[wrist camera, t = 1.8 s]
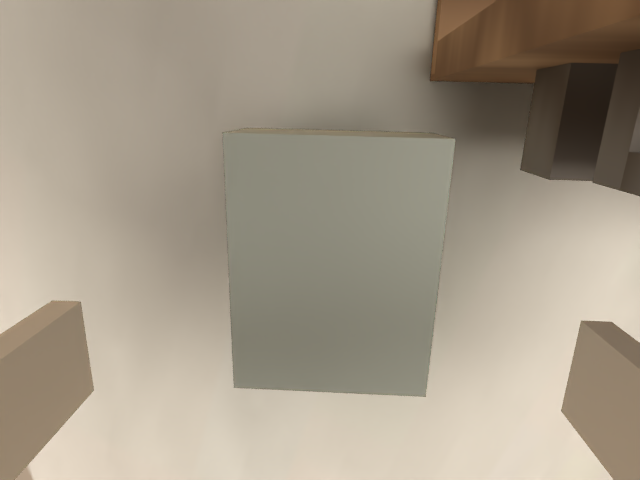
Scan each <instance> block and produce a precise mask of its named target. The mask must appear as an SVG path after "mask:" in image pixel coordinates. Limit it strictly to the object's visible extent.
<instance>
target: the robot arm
mask: <svg viewBox="0 0 640 480" xmlns="http://www.w3.org/2000/svg"><path fill="white" fill-rule="evenodd" d="M93 391H94V387H93V381H92V374H91V367H90V361H89V354H88V347H87V341H86V334H85V327H84V321H83V314H82V307H81V302H78V301H51V302H49V303H48V304H46V305H45V306H43V307H42V308H40V309H39V310H37V311H36V312H34V313H32V314H31V315H29V316H28V317H26V318H25V319H23V320H22V321H20V322H19V323H17V324H16V325H14V326H12V327H11V328H9V329H8V330H6V331H5V332H3V333H2V334H0V480H15V479H16V478H17V477H18V475H19V474H20V473H21V472H22V471H23V470H24V469H25V468H26V467H27V465H28V464H29V463H30V462H31V461H32V460H33V459H34V457H35V456H36V455H37V454H38V453H39V452H40V451H41V450H42V448H43V447H44V446H45V445H46V444H47V443H48V442H49V441H50V439H51V438H52V437H53V436H54V435H55V434H56V433H57V431H58V430H59V429H60V428H61V427H62V426H63V425H64V424H65V422H66V421H67V420H68V419H69V418H70V417H71V416H72V415H73V413H74V412H75V411H76V410H77V409H78V408H79V407H80V405H81V404H82V403H83V402H84V401H85V400H86V399H87V398H88V396H89V395H90V394H91V393H92V392H93ZM561 411H562V413H563V414H564V415H565V417H566V418H567V419H568V421H569V422H570V423H571V424H572V426H573V427H574V428H575V430H576V431H577V432H578V434H579V435H580V436H581V438H582V439H583V440H584V441H585V443H586V444H587V445H588V447H589V448H590V449H591V451H592V452H593V453H594V454H595V456H596V457H597V458H598V460H599V461H600V462H601V464H602V465H603V466H604V468H605V469H606V470H607V471H608V473H609V474H610V475H611V477H612V478H613V479H614V480H640V343H639V342H638V341H636V340H635V339H634V338H632V337H631V336H630V335H628V334H627V333H626V332H624V331H623V330H622V329H620V328H619V327H618V326H616V325H615V324H614V323H612V322H602V321H581V324H580V328H579V333H578V337H577V342H576V346H575V351H574V355H573V360H572V364H571V369H570V373H569V378H568V382H567V387H566V391H565V396H564V400H563V405H562V409H561Z"/></svg>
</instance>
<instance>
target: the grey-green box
mask: <svg viewBox="0 0 640 480" xmlns="http://www.w3.org/2000/svg"><path fill="white" fill-rule="evenodd" d="M455 141H456V139H454V138H450V137H446V136H442V135H438V134H434V133H421V132H383V131H346V130H308V129H270V128H244V129H239V130H234V131H229V132H224V133H223V154H224V177H225V200H226V222H227V245H228V267H229V290H230V312H231V335H232V357H233V380H234V388H251V389H272V390H293V391H314V392H335V393H356V394H377V395H398V396H419V397H426V389H427V380H428V372H429V363H430V355H431V346H432V337H433V329H434V320H435V312H436V303H437V295H438V286H439V277H440V269H441V260H442V252H443V243H444V235H445V226H446V218H447V209H448V200H449V192H450V183H451V175H452V166H453V158H454V149H455Z"/></svg>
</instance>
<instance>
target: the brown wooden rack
mask: <svg viewBox="0 0 640 480" xmlns="http://www.w3.org/2000/svg"><path fill="white" fill-rule="evenodd" d="M430 81H452V82H498V83H535V84H534V90H533V96H532V102H531V108H530V114H529V120H528V126H527V132H526V138H525V144H524V150H523V156H522V162H521V168H520V170H522V171H525V172H528V173H531V174H534V175H537V176H540V177H543V178H546V179H549V180H581V181H593V182H592V183H596V184H599V185H603V186H606V187H610V188H613V189H617V190H620V191H624V192H627V193H631V194H634V195H638V196H640V0H438V3H437V14H436V24H435V35H434V45H433V56H432V66H431V77H430Z"/></svg>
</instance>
